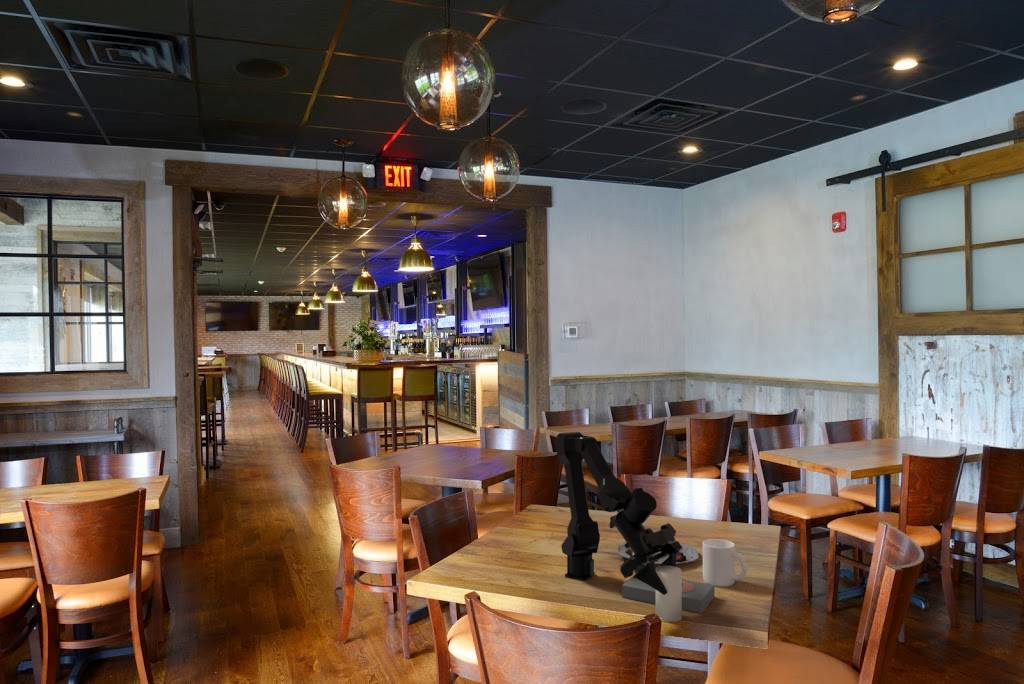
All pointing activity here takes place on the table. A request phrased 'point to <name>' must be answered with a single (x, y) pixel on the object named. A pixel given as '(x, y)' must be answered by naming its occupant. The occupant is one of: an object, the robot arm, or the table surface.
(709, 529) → the table surface
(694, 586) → the plinth
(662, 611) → the canister
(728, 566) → the mug
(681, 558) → the food plate
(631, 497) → the robot arm
